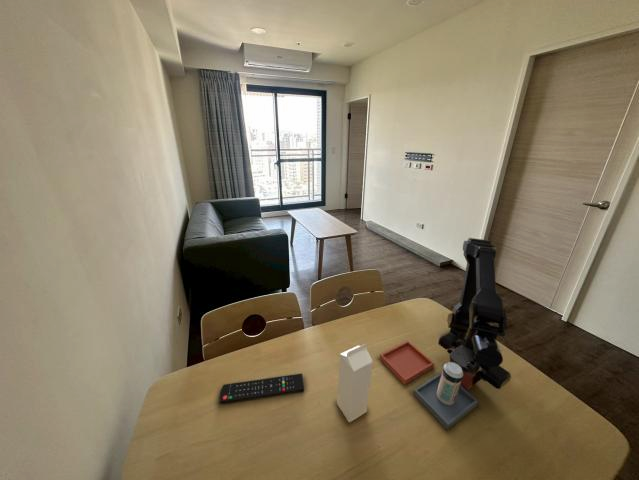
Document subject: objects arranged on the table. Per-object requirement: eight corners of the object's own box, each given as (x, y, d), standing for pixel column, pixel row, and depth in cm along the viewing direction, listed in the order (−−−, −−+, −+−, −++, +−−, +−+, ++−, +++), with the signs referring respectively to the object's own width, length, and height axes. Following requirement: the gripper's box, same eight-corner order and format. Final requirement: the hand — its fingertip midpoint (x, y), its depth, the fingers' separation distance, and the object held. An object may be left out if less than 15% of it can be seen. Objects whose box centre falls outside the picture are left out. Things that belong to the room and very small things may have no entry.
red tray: (407, 344, 92) (407, 340, 91) (433, 367, 83) (434, 363, 82) (379, 358, 86) (380, 354, 85) (404, 385, 77) (405, 380, 76)
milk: (366, 412, 69) (375, 352, 61) (348, 423, 66) (355, 362, 58) (353, 393, 74) (359, 335, 65) (336, 403, 71) (340, 344, 63)
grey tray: (442, 375, 80) (443, 370, 79) (476, 405, 71) (478, 401, 70) (413, 394, 74) (414, 389, 73) (447, 430, 65) (448, 425, 64)
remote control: (304, 392, 74) (304, 388, 74) (218, 405, 70) (218, 402, 70) (302, 376, 79) (302, 373, 78) (222, 388, 75) (221, 384, 74)
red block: (461, 370, 81) (465, 359, 79) (477, 383, 77) (481, 371, 75) (452, 377, 79) (455, 365, 77) (467, 390, 75) (471, 378, 73)
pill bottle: (450, 391, 74) (459, 361, 70) (457, 407, 70) (467, 376, 66) (433, 389, 75) (441, 359, 70) (439, 405, 71) (448, 374, 66)
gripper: (431, 327, 76) (422, 365, 82) (496, 375, 61) (480, 417, 67) (454, 316, 81) (444, 352, 87) (520, 357, 66) (502, 398, 72)
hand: (465, 377), depth 78 cm, fingers closed on red block, 5 cm apart
